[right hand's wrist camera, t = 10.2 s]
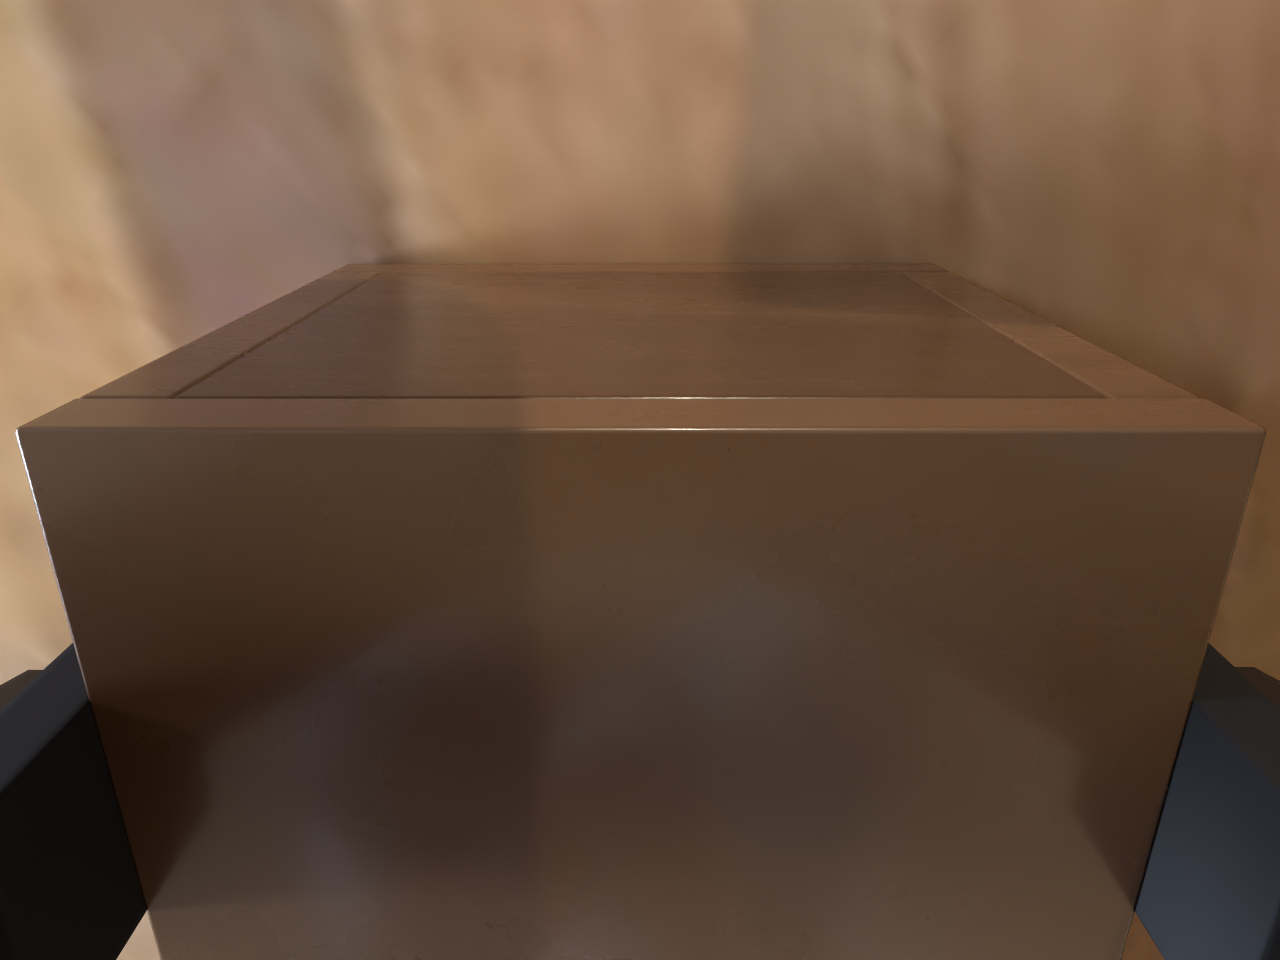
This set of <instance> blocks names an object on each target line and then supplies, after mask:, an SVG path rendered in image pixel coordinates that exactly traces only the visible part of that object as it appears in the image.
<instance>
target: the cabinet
mask: <svg viewBox="0 0 1280 960" xmlns="http://www.w3.org/2000/svg"><path fill="white" fill-rule="evenodd" d="M15 434H16V437H17V441H18V445H19V448H20V452H21V456H22V459H23V463H24V466H25V470H26V474H27V477H28V481H29V485H30V488H31V492H32V495H33V499H34V503H35V506H36V510H37V513H38V517H39V521H40V524H41V528H42V532H43V535H44V539H45V542H46V546H47V550H48V553H49V557H50V561H51V564H52V568H53V571H54V575H55V579H56V582H57V586H58V589H59V593H60V597H61V600H62V604H63V608H64V611H65V615H66V618H67V622H68V626H69V629H70V633H71V637H72V640H73V644H74V647H75V651H76V655H77V658H78V662H79V665H80V669H81V673H82V676H83V680H84V684H85V687H86V691H87V694H88V698H89V701H90V705H91V708H92V712H93V716H94V719H95V723H96V727H97V730H98V734H99V737H100V741H101V745H102V748H103V752H104V756H105V759H106V763H107V766H108V770H109V774H110V777H111V781H112V785H113V788H114V792H115V795H116V799H117V803H118V806H119V810H120V814H121V817H122V821H123V824H124V828H125V832H126V835H127V839H128V843H129V846H130V850H131V853H132V857H133V861H134V864H135V868H136V872H137V875H138V879H139V882H140V886H141V890H142V893H143V897H144V901H145V904H146V908H147V911H148V915H149V919H150V922H151V926H152V930H153V933H154V937H155V940H156V944H157V948H158V951H159V955H160V959H161V960H1121V957H1122V953H1123V950H1124V946H1125V943H1126V939H1127V935H1128V932H1129V928H1130V924H1131V921H1132V917H1133V913H1134V910H1135V906H1136V903H1137V899H1138V895H1139V892H1140V888H1141V884H1142V881H1143V877H1144V874H1145V870H1146V866H1147V863H1148V859H1149V855H1150V852H1151V848H1152V845H1153V841H1154V837H1155V834H1156V830H1157V826H1158V823H1159V819H1160V816H1161V812H1162V808H1163V805H1164V801H1165V797H1166V794H1167V790H1168V787H1169V783H1170V779H1171V776H1172V772H1173V768H1174V765H1175V761H1176V758H1177V754H1178V750H1179V747H1180V743H1181V739H1182V736H1183V732H1184V728H1185V725H1186V721H1187V718H1188V714H1189V710H1190V707H1191V703H1192V699H1193V696H1194V692H1195V689H1196V685H1197V681H1198V678H1199V674H1200V670H1201V667H1202V663H1203V660H1204V656H1205V652H1206V649H1207V645H1208V641H1209V638H1210V634H1211V631H1212V627H1213V623H1214V620H1215V616H1216V612H1217V609H1218V605H1219V602H1220V598H1221V594H1222V591H1223V587H1224V583H1225V580H1226V576H1227V573H1228V569H1229V565H1230V562H1231V558H1232V554H1233V551H1234V547H1235V543H1236V540H1237V536H1238V533H1239V529H1240V525H1241V522H1242V518H1243V514H1244V511H1245V507H1246V504H1247V500H1248V496H1249V493H1250V489H1251V485H1252V482H1253V478H1254V475H1255V471H1256V467H1257V464H1258V460H1259V456H1260V453H1261V449H1262V446H1263V442H1264V438H1265V435H1266V430H1265V428H1263V427H1261V426H1259V425H1257V424H1255V423H1253V422H1251V421H1249V420H1247V419H1245V418H1243V417H1241V416H1239V415H1237V414H1235V413H1233V412H1231V411H1229V410H1227V409H1225V408H1223V407H1221V406H1219V405H1217V404H1215V403H1213V402H1211V401H1209V400H1207V399H1200V398H1199V397H1198V396H1196V395H1194V394H1192V393H1190V392H1188V391H1186V390H1184V389H1182V388H1180V387H1178V386H1176V385H1174V384H1172V383H1170V382H1168V381H1166V380H1164V379H1162V378H1160V377H1158V376H1156V375H1154V374H1152V373H1150V372H1148V371H1146V370H1144V369H1142V368H1140V367H1138V366H1136V365H1134V364H1132V363H1130V362H1128V361H1126V360H1124V359H1122V358H1120V357H1118V356H1116V355H1114V354H1112V353H1110V352H1108V351H1106V350H1104V349H1102V348H1100V347H1098V346H1096V345H1094V344H1092V343H1090V342H1088V341H1086V340H1084V339H1082V338H1080V337H1078V336H1076V335H1074V334H1072V333H1070V332H1068V331H1066V330H1064V329H1062V328H1060V327H1058V326H1056V325H1054V324H1052V323H1050V322H1048V321H1046V320H1044V319H1042V318H1040V317H1038V316H1036V315H1034V314H1032V313H1030V312H1028V311H1026V310H1024V309H1022V308H1020V307H1018V306H1016V305H1014V304H1012V303H1010V302H1008V301H1006V300H1004V299H1002V298H1000V297H998V296H996V295H994V294H992V293H990V292H988V291H986V290H984V289H982V288H980V287H978V286H976V285H974V284H972V283H970V282H968V281H966V280H964V279H962V278H960V277H958V276H956V275H954V274H952V273H950V272H949V271H947V270H945V269H943V268H941V267H939V266H937V265H935V264H347V265H345V266H343V267H341V268H339V269H337V270H335V271H333V272H331V273H329V274H327V275H325V276H323V277H321V278H319V279H317V280H315V281H313V282H311V283H309V284H307V285H305V286H303V287H301V288H299V289H297V290H295V291H293V292H291V293H289V294H287V295H285V296H283V297H281V298H279V299H277V300H275V301H273V302H271V303H269V304H267V305H265V306H263V307H261V308H259V309H257V310H255V311H253V312H251V313H249V314H247V315H245V316H243V317H241V318H239V319H237V320H235V321H233V322H231V323H229V324H227V325H225V326H223V327H221V328H219V329H217V330H215V331H213V332H211V333H209V334H207V335H204V336H202V337H200V338H198V339H196V340H194V341H192V342H190V343H188V344H186V345H184V346H182V347H180V348H178V349H176V350H174V351H172V352H170V353H168V354H166V355H164V356H162V357H160V358H158V359H156V360H154V361H152V362H150V363H148V364H146V365H144V366H142V367H140V368H138V369H136V370H134V371H132V372H130V373H128V374H126V375H124V376H122V377H120V378H118V379H116V380H114V381H112V382H110V383H108V384H106V385H104V386H102V387H100V388H98V389H96V390H94V391H92V392H90V393H88V394H86V395H84V396H82V397H81V398H80V399H75V400H72V401H70V402H68V403H66V404H64V405H62V406H60V407H58V408H56V409H54V410H52V411H50V412H48V413H46V414H44V415H42V416H40V417H38V418H36V419H34V420H32V421H30V422H28V423H26V424H24V425H22V426H20V427H18V428H17V429H16V433H15Z"/></svg>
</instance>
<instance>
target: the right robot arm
mask: <svg viewBox="0 0 1280 960" xmlns="http://www.w3.org/2000/svg"><path fill="white" fill-rule="evenodd" d="M146 911H147V908H146V904H145V901H144V897H143V893H142V890H141V886H140V882H139V879H138V875H137V872H136V868H135V864H134V861H133V857H132V853H131V850H130V846H129V843H128V839H127V835H126V832H125V828H124V824H123V821H122V817H121V814H120V810H119V806H118V803H117V799H116V795H115V792H114V788H113V785H112V781H111V777H110V774H109V770H108V766H107V763H106V759H105V756H104V752H103V748H102V745H101V741H100V737H99V734H98V730H97V727H96V723H95V719H94V716H93V712H92V708H91V705H90V701H89V698H88V694H87V691H86V687H85V684H84V680H83V676H82V673H81V669H80V665H79V662H78V658H77V655H76V651H75V647H74V644H73V643H72V644H71V645H70V646H69V647H68V648H67V649H66V650H65V651H63V652H62V653H61V654H60V655H59V656H58V657H57V658H56V659H55V660H54V661H53V662H52V663H50V664H49V665H48V666H47V667H46V668H45V669H44V670H27V671H25V672H24V673H22V674H20V675H18V676H16V677H15V678H13V679H11V680H9V681H7V682H6V683H4V684H2V685H0V960H116V959H117V957H118V956H119V954H120V952H121V951H122V949H123V948H124V946H125V944H126V943H127V941H128V940H129V938H130V936H131V935H132V933H133V932H134V930H135V928H136V927H137V925H138V924H139V922H140V920H141V919H142V917H143V916H144V914H145V912H146ZM1134 911H1135V912H1136V914H1137V916H1138V917H1139V919H1140V920H1141V922H1142V924H1143V925H1144V927H1145V928H1146V930H1147V932H1148V933H1149V935H1150V937H1151V938H1152V940H1153V941H1154V943H1155V945H1156V946H1157V948H1158V949H1159V951H1160V953H1161V954H1162V956H1163V957H1164V959H1165V960H1280V681H1278V680H1276V679H1275V678H1273V677H1271V676H1269V675H1267V674H1265V673H1264V672H1262V671H1260V670H1258V669H1256V668H1254V667H1234V666H1233V665H1232V664H1231V663H1230V662H1228V661H1227V660H1226V659H1225V658H1224V657H1223V656H1222V655H1221V654H1220V653H1219V652H1218V651H1217V650H1215V649H1214V648H1213V647H1212V646H1211V645H1210V644H1209V643H1208V645H1207V649H1206V652H1205V656H1204V660H1203V663H1202V667H1201V670H1200V674H1199V678H1198V681H1197V685H1196V689H1195V692H1194V696H1193V699H1192V703H1191V707H1190V710H1189V714H1188V718H1187V721H1186V725H1185V728H1184V732H1183V736H1182V739H1181V743H1180V747H1179V750H1178V754H1177V758H1176V761H1175V765H1174V768H1173V772H1172V776H1171V779H1170V783H1169V787H1168V790H1167V794H1166V797H1165V801H1164V805H1163V808H1162V812H1161V816H1160V819H1159V823H1158V826H1157V830H1156V834H1155V837H1154V841H1153V845H1152V848H1151V852H1150V855H1149V859H1148V863H1147V866H1146V870H1145V874H1144V877H1143V881H1142V884H1141V888H1140V892H1139V895H1138V899H1137V903H1136V906H1135V910H1134Z"/></svg>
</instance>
